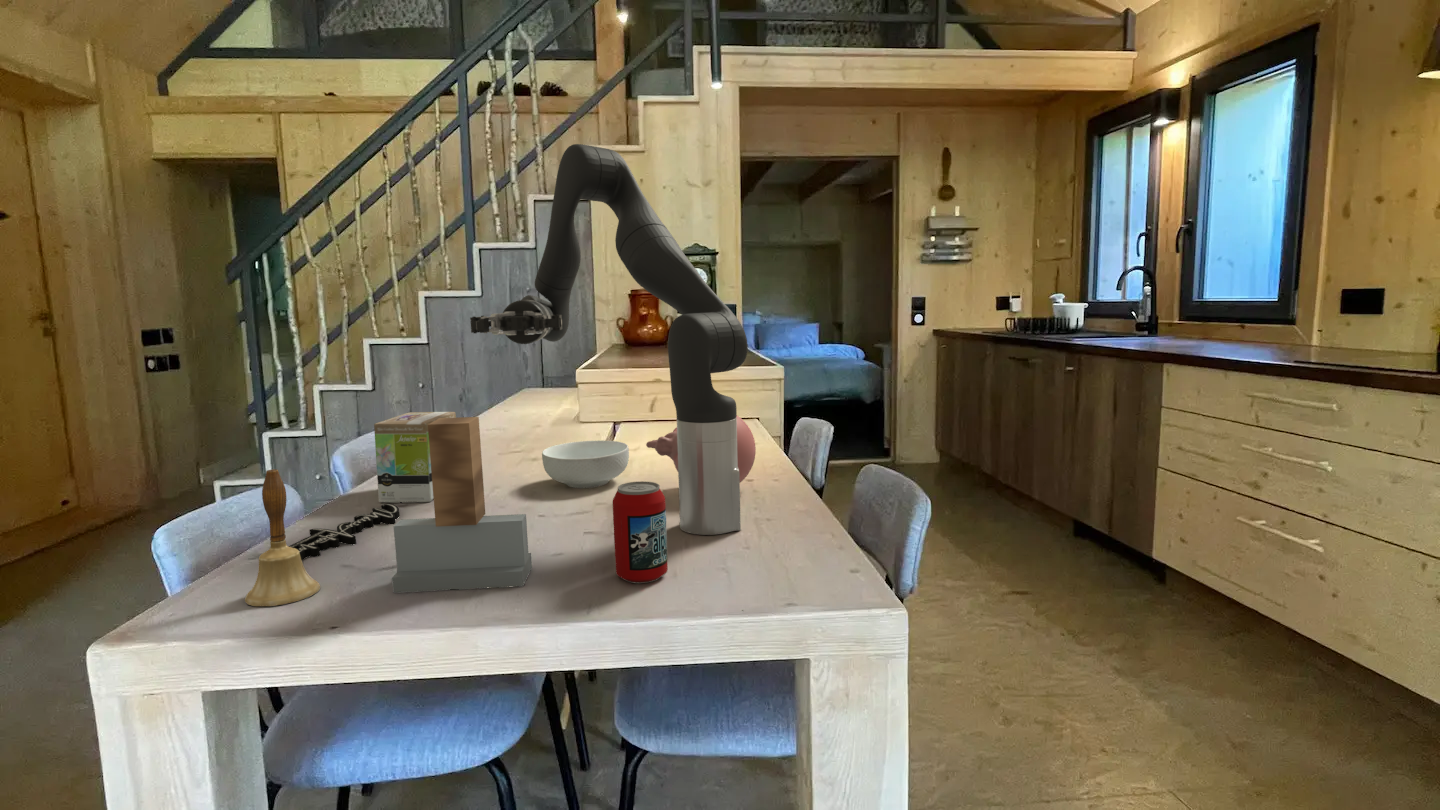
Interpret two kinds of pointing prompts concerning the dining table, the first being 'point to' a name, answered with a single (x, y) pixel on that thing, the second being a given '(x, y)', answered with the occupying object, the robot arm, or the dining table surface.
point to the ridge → (461, 554)
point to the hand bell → (279, 556)
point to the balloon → (744, 447)
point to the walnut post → (456, 471)
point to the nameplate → (344, 531)
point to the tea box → (405, 457)
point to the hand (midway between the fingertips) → (509, 325)
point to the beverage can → (640, 532)
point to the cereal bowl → (586, 462)
